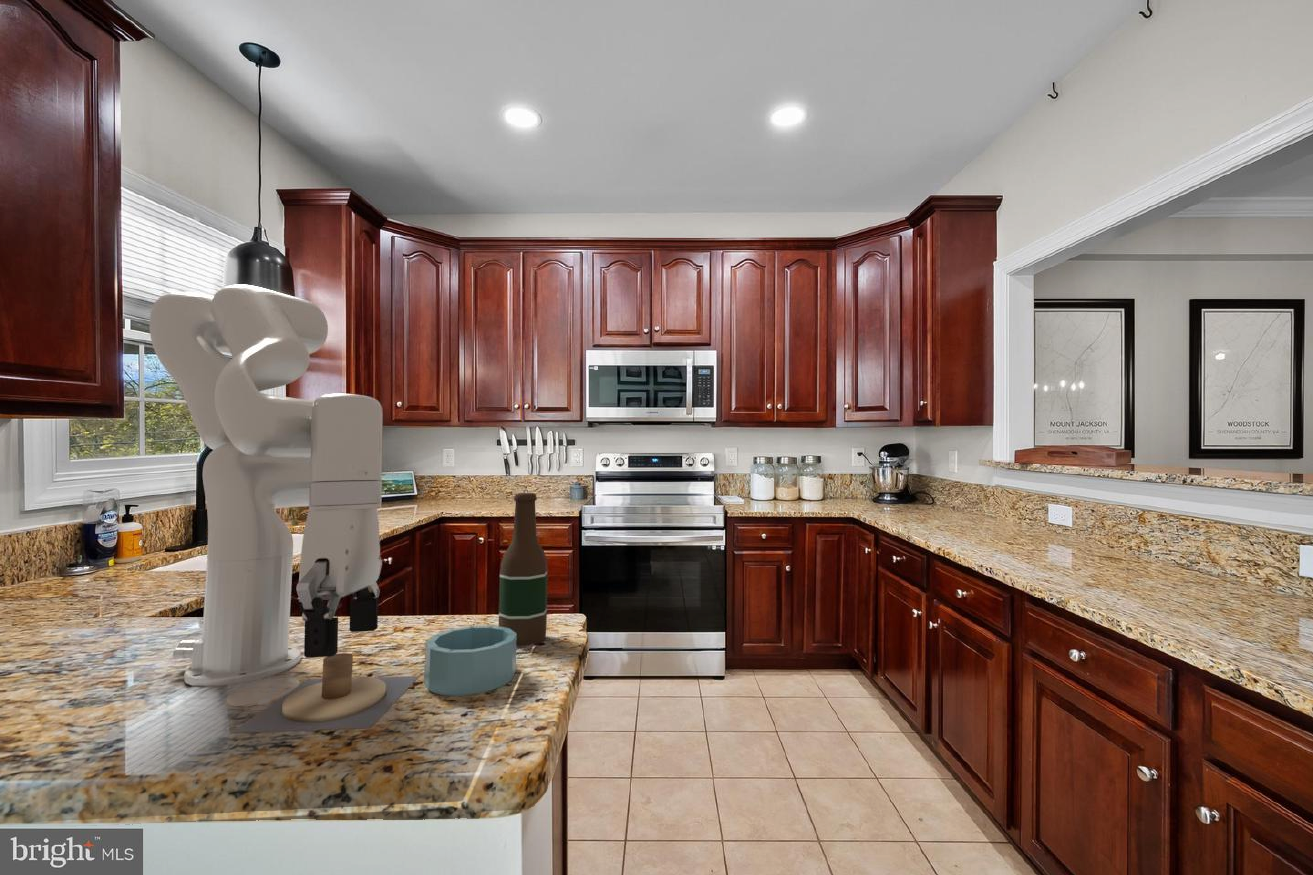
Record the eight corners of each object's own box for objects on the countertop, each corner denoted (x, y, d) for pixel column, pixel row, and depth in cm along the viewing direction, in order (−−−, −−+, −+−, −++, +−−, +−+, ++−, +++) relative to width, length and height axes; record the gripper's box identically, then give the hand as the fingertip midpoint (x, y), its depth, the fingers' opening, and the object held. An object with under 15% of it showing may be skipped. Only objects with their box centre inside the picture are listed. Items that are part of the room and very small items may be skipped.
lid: (260, 723, 56) (262, 675, 56) (314, 684, 66) (316, 643, 66) (361, 720, 57) (363, 673, 57) (399, 681, 67) (401, 642, 67)
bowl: (411, 700, 63) (413, 653, 63) (441, 666, 74) (442, 626, 74) (505, 697, 64) (506, 651, 64) (520, 663, 75) (521, 624, 75)
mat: (229, 736, 54) (229, 732, 54) (308, 682, 68) (308, 679, 68) (370, 731, 55) (370, 727, 55) (419, 679, 69) (419, 675, 69)
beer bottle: (555, 636, 87) (558, 492, 89) (530, 651, 80) (533, 494, 81) (516, 631, 90) (519, 491, 91) (487, 645, 82) (491, 493, 84)
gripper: (349, 496, 71) (347, 624, 70) (266, 500, 54) (261, 670, 52) (406, 494, 72) (405, 621, 70) (342, 497, 55) (339, 666, 53)
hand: (343, 642), depth 61 cm, fingers open, 9 cm apart
